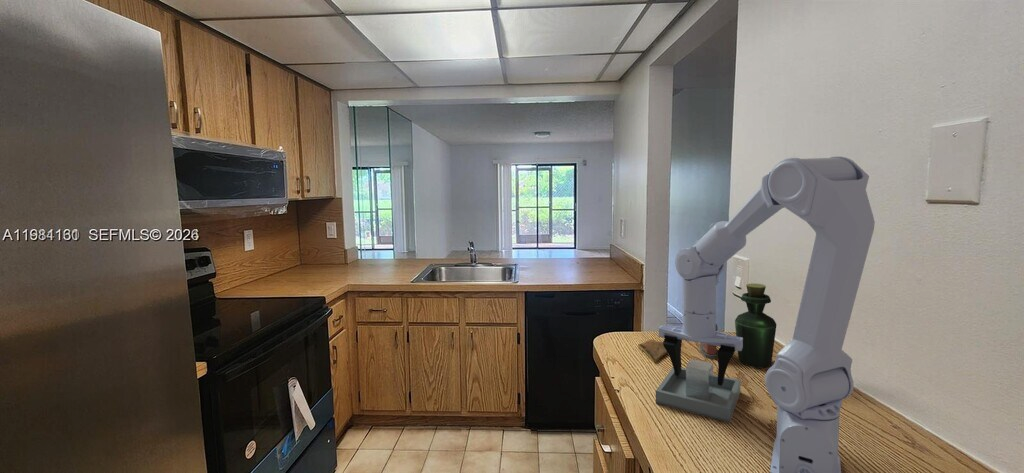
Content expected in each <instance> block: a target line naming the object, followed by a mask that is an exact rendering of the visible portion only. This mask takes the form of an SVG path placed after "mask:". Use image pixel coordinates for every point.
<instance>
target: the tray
mask: <svg viewBox="0 0 1024 473" xmlns="http://www.w3.org/2000/svg"><path fill="white" fill-rule="evenodd" d="M741 383H742V382H741V380H740V379H736V378H733V377H732V378H731V377H728V376H724V382H723V385H722V386H720V385H718V374H713V393H712V395H711V397H710V400H709V402H708V401H704V400H700V399H696V398H692V397H688V396H686V367H685V368H684V367H681V373H680V375H679V376H675V373H674V368H673V367H672V368H671V370H670V371H669V372H668V373H667V375H666V376H665V377H664V379H663V380H662V382H661V383H660V384H659V386H658V387H657V388H656V390H655V404H658V405H661V406H665V407H668V408H673V409H676V410H679V411H684V412H688V413H691V414H695V415H698V416H702V417H705V418H708V419H713V420H716V421H720V422H724V423H728V424H730V423H731V420H732V417H733V415H734V412H735V408H736V406H737V403H738V401H739V397H740V394H741Z"/></svg>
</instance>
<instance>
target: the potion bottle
mask: <svg viewBox="0 0 1024 473" xmlns="http://www.w3.org/2000/svg"><path fill="white" fill-rule="evenodd" d="M745 286H746V289H747V290H746V291H747V292H744V293H743V294H741V297H740V300H741V301H742V302H744V303H745V304H746V308H747V311H744V312H743V313H740V314H738V315H737V316H736V318H735V319H734V326H735V336H736V337H742V338H743V348H742V350H741V351H737V360H739V362H740V363H741V364H743V365H745V366H748V367H752V368H755V369H756V368H757V369H759V368H760V369H765V368H770V367H771V366H772V361H773V355H774V354H773V353H774V346H775V337H776V331H777V322H776V321H775V319H774V318H773V317H771V316H770V315H767V314H766V313H764V310H765V306H766V304H770V303H771V302H772V299H771V297H770V295H768V294H766V293H765V291H766V288H767V285H765V284H763V283H747V284H745Z"/></svg>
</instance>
